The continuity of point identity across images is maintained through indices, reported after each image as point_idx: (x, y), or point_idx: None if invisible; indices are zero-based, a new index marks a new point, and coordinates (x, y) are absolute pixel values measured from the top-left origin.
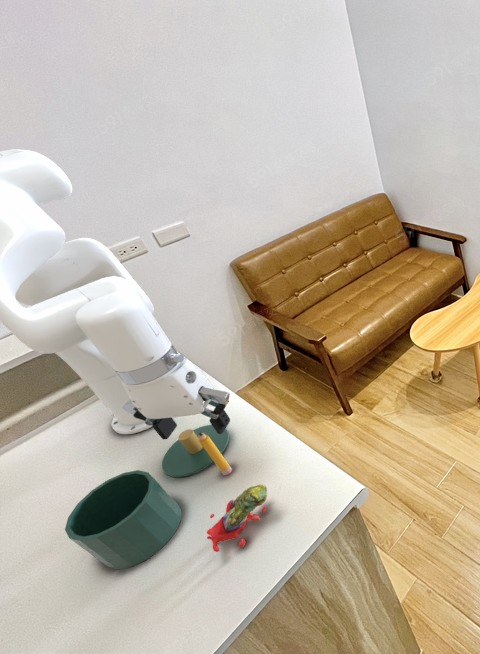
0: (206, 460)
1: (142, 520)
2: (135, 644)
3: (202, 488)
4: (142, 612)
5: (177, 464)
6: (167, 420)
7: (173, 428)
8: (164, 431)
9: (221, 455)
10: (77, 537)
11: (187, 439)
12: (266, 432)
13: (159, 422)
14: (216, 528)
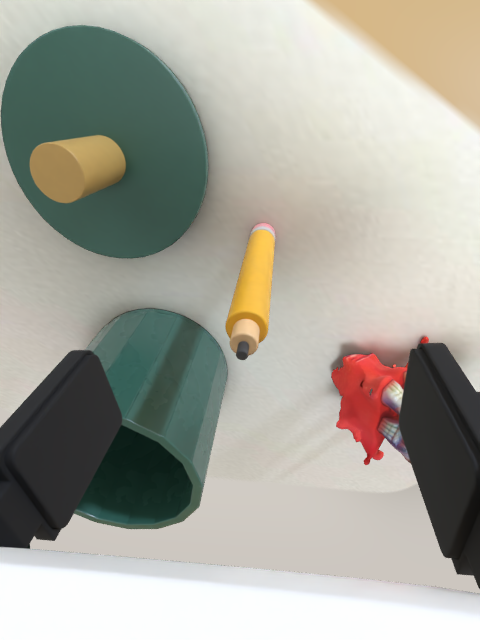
0: (179, 211)
1: (207, 468)
2: (280, 483)
3: (219, 280)
4: (262, 458)
5: (94, 222)
6: (58, 442)
7: (100, 381)
8: (96, 450)
9: (271, 261)
10: (114, 525)
11: (84, 194)
12: (332, 54)
13: (50, 516)
14: (362, 430)
